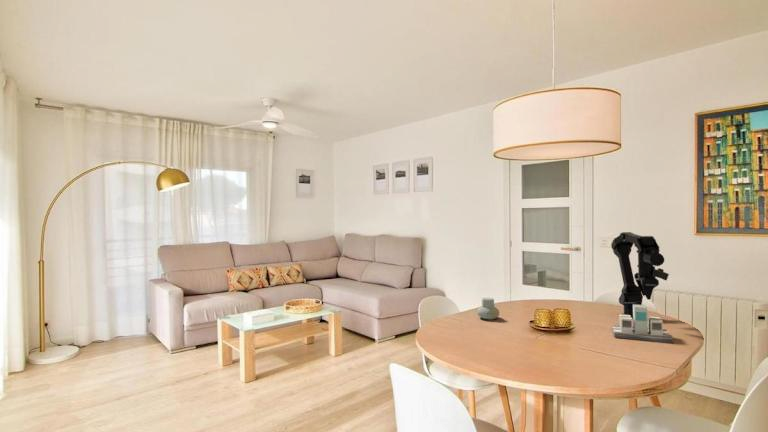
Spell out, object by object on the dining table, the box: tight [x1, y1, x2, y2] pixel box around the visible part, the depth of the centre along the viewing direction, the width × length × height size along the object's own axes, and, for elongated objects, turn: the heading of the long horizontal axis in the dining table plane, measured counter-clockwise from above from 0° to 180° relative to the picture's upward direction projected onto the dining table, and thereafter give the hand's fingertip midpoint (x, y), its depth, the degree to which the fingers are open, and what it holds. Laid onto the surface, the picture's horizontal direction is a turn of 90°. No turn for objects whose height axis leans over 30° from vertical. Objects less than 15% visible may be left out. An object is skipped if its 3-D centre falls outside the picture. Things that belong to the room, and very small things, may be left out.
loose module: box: [632, 304, 648, 334], centre depth 167 cm, size 6×4×11 cm
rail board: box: [611, 313, 674, 344], centre depth 167 cm, size 14×20×8 cm
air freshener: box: [476, 297, 500, 321], centre depth 201 cm, size 11×8×10 cm
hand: (646, 297), depth 182 cm, fingers open, 9 cm apart
